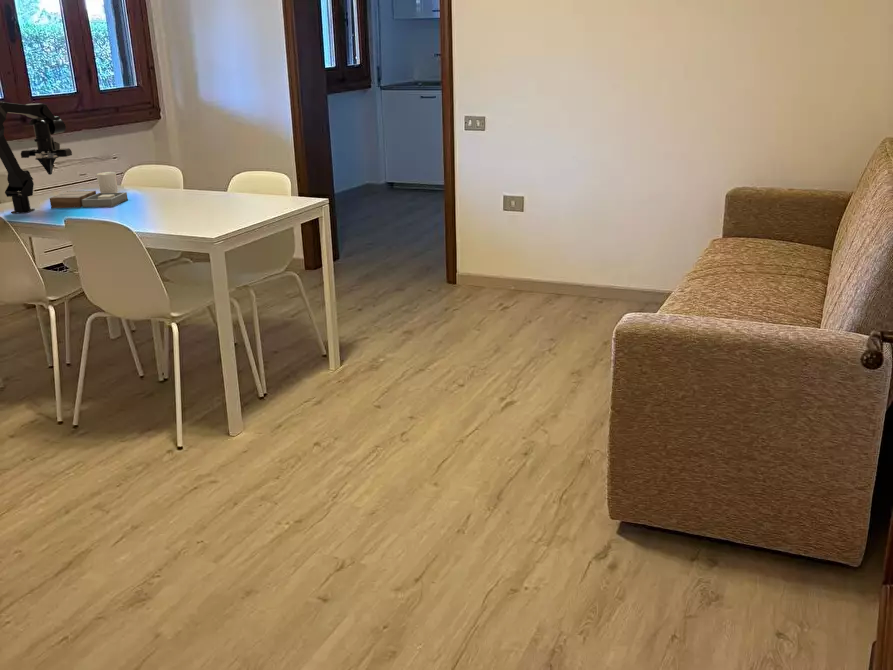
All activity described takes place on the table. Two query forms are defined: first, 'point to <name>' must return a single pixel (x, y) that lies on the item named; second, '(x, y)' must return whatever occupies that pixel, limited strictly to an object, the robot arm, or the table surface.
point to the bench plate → (70, 199)
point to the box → (104, 200)
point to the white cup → (107, 182)
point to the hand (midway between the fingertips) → (50, 174)
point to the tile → (106, 196)
